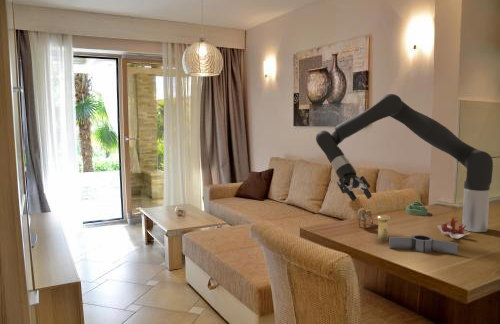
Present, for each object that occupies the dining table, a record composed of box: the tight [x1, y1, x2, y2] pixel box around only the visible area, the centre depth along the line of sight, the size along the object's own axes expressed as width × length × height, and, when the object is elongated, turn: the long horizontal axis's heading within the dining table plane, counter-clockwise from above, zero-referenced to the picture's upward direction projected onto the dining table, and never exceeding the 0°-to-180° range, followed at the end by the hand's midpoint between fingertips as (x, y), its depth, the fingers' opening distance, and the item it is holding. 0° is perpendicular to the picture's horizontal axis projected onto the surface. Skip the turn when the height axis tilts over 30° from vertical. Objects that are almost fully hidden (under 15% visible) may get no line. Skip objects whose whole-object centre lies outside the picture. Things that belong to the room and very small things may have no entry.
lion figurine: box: [356, 207, 374, 229], centre depth 173 cm, size 15×5×9 cm, turn 151°
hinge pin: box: [376, 214, 391, 241], centre depth 153 cm, size 5×5×9 cm
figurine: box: [436, 217, 471, 240], centre depth 156 cm, size 15×12×7 cm
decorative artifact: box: [405, 199, 429, 217], centre depth 195 cm, size 10×7×10 cm
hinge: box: [388, 234, 459, 256], centre depth 141 cm, size 10×22×4 cm, turn 55°
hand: (362, 198), depth 162 cm, fingers open, 8 cm apart
